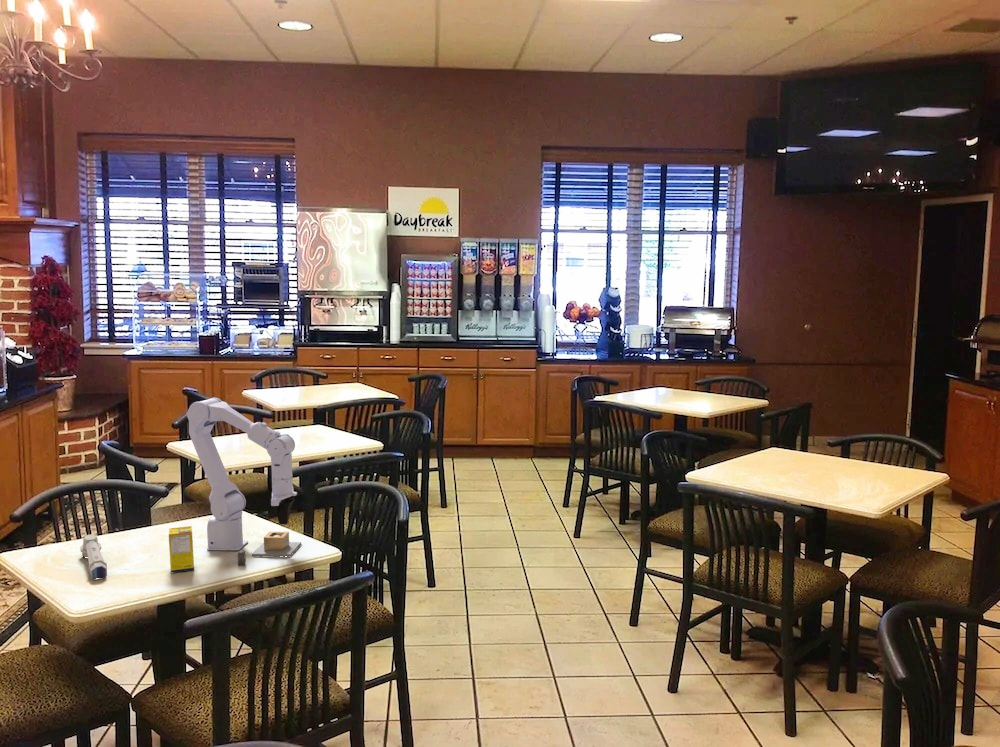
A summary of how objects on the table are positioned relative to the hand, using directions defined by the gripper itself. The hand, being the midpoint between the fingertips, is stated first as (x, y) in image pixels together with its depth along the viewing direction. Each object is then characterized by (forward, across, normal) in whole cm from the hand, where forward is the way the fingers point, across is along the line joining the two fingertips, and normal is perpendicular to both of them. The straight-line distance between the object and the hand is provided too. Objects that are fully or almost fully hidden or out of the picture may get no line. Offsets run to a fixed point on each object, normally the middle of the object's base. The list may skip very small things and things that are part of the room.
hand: (283, 523), depth 241 cm
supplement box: (+8, -16, +23) cm, 29 cm away
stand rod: (+8, -12, +8) cm, 17 cm away
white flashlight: (+9, -15, +48) cm, 51 cm away
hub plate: (+8, 0, +2) cm, 8 cm away
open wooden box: (+7, 0, +2) cm, 8 cm away
